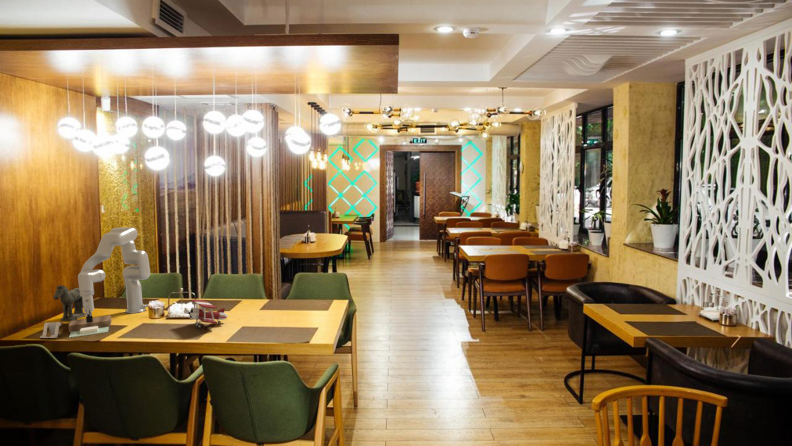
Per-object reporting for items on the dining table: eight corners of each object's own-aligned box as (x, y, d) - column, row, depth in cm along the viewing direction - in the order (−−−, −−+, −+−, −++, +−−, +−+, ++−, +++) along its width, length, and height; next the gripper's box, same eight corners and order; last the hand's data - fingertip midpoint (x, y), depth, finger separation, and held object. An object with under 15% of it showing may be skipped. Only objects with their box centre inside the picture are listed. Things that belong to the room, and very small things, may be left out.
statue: (60, 325, 331) (56, 287, 329) (46, 325, 333) (42, 286, 331) (90, 315, 356) (87, 278, 353) (77, 314, 358) (73, 278, 355)
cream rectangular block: (97, 328, 314) (97, 331, 314) (98, 325, 319) (98, 329, 319) (79, 330, 310) (80, 334, 310) (80, 328, 315) (81, 331, 316)
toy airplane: (231, 334, 315) (236, 309, 316) (192, 331, 302) (197, 305, 303) (217, 325, 337) (221, 302, 338) (180, 322, 323) (185, 298, 325)
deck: (111, 321, 338) (110, 315, 337) (110, 326, 325) (110, 320, 325) (71, 326, 328) (70, 320, 327) (69, 332, 315) (68, 326, 315)
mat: (108, 327, 324) (108, 326, 324) (107, 332, 314) (107, 331, 314) (71, 332, 315) (70, 331, 315) (68, 337, 305) (68, 337, 305)
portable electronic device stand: (40, 339, 303) (39, 325, 303) (48, 335, 311) (47, 321, 310) (55, 339, 304) (54, 325, 303) (63, 334, 311) (62, 321, 311)
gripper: (93, 294, 313) (96, 324, 315) (94, 289, 326) (97, 318, 328) (78, 295, 309) (81, 326, 311) (80, 291, 323) (83, 320, 324)
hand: (89, 322), depth 319 cm, fingers closed
